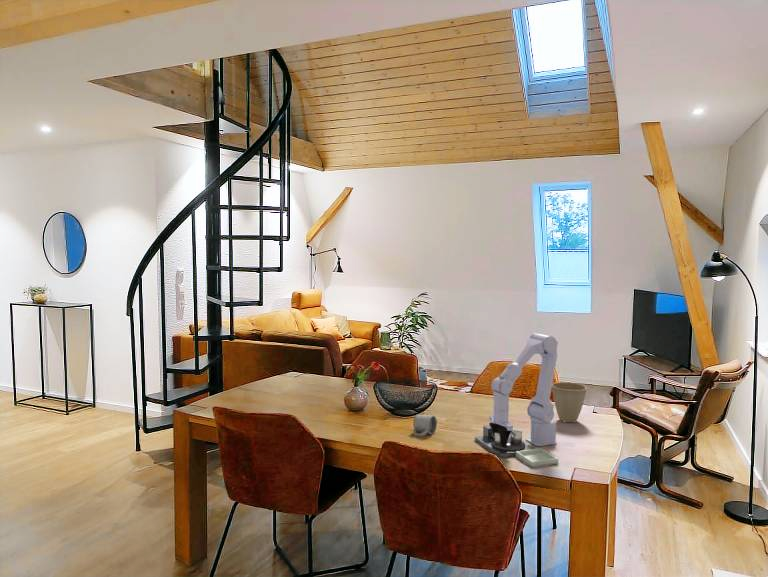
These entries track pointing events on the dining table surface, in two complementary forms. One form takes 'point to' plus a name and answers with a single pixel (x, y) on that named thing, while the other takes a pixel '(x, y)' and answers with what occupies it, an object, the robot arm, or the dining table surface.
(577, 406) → the plant pot
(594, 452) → the dining table surface
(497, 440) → the cylinder
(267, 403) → the dining table surface
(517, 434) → the spacer
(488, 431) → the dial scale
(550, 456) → the tray
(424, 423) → the ceramic mug
